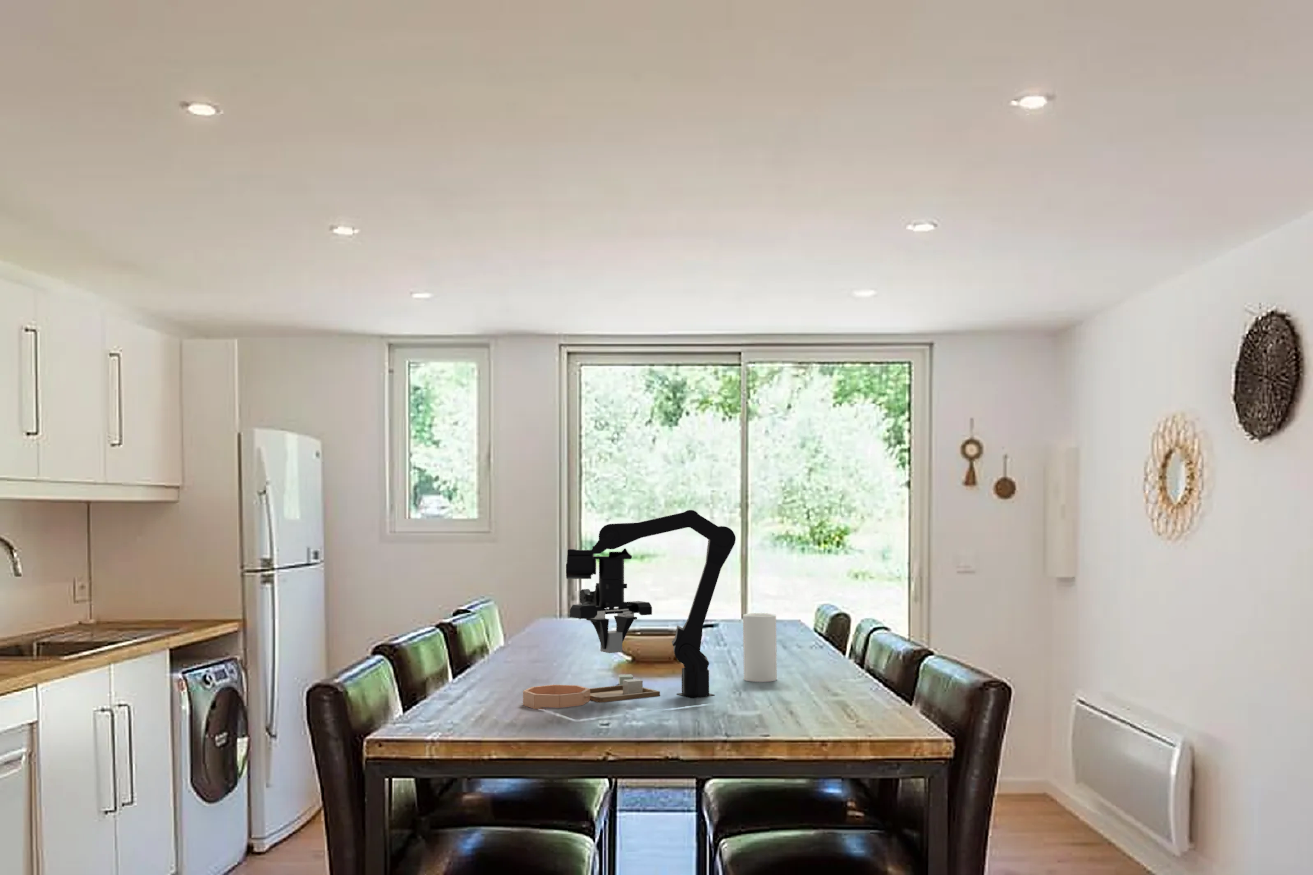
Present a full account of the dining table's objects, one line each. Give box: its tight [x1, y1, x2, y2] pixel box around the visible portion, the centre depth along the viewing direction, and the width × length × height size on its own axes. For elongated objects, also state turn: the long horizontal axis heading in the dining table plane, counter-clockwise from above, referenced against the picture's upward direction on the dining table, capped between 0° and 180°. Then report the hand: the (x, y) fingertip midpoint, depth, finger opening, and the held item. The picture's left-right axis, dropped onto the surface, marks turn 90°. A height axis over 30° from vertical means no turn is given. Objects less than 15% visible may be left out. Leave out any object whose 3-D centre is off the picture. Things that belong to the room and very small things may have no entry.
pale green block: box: [618, 674, 634, 685], centre depth 256 cm, size 3×4×3 cm
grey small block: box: [623, 678, 644, 694], centre depth 243 cm, size 4×3×3 cm
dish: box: [522, 684, 591, 710], centre depth 234 cm, size 14×14×3 cm
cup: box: [742, 612, 778, 683], centre depth 267 cm, size 8×8×16 cm
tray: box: [589, 684, 661, 703], centre depth 242 cm, size 13×16×1 cm
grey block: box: [600, 630, 623, 654], centre depth 242 cm, size 4×3×4 cm
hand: (611, 648), depth 242 cm, fingers closed on grey block, 3 cm apart
